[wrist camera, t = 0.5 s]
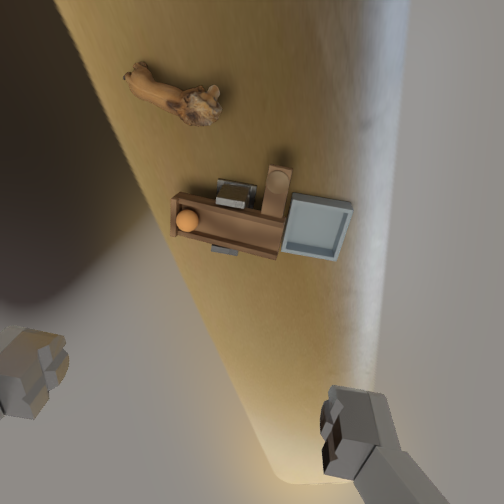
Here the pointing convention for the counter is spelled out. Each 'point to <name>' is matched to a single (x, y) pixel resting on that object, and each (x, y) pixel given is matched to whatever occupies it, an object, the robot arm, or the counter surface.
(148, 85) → the lion figurine
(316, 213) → the tray
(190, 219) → the ball
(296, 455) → the counter surface
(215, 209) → the lever
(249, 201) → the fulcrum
